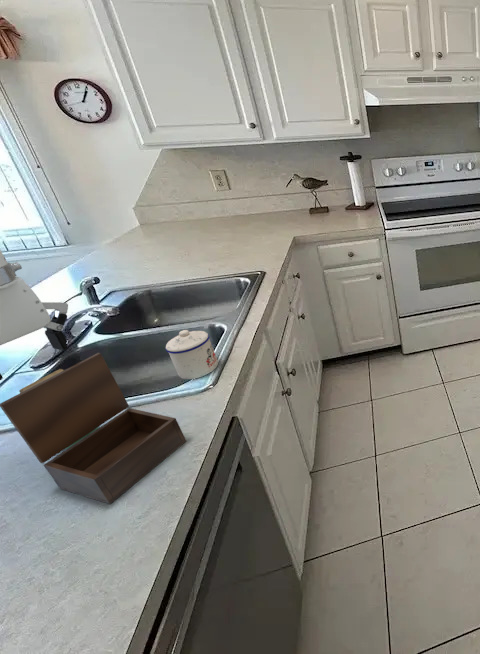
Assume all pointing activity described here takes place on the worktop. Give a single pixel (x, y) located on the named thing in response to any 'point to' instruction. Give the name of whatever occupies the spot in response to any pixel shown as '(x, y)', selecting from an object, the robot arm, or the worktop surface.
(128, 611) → the worktop surface
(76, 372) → the lid
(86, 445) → the chest
